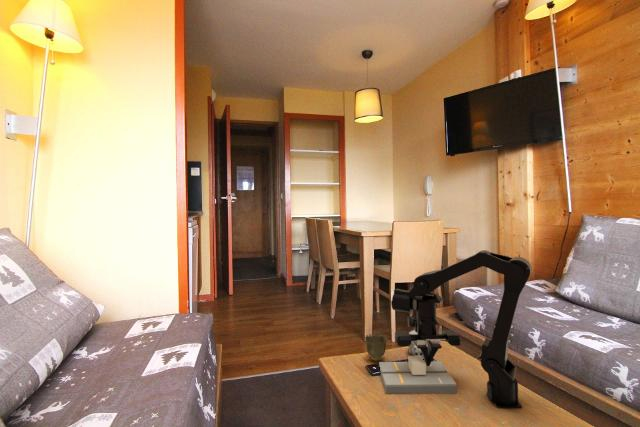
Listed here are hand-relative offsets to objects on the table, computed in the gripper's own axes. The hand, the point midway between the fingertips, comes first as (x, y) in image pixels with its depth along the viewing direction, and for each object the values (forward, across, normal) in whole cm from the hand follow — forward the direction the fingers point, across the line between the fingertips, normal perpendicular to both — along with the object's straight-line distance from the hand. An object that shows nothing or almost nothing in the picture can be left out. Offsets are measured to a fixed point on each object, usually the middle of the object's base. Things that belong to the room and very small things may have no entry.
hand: (427, 365), depth 101 cm
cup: (+5, +14, -14) cm, 20 cm away
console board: (+5, +4, 0) cm, 6 cm away
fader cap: (+2, +3, 0) cm, 4 cm away
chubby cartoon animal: (+5, -1, -16) cm, 17 cm away
